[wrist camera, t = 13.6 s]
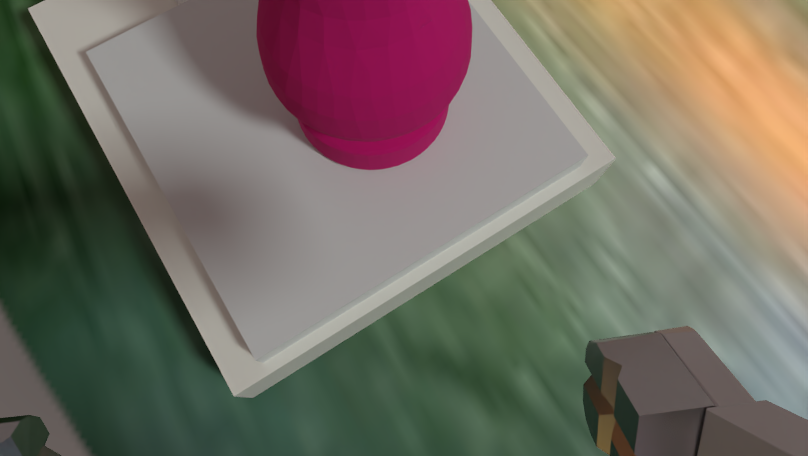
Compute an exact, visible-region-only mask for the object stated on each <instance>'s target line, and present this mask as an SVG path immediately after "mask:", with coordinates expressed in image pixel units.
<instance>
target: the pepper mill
mask: <svg viewBox="0 0 808 456" xmlns="http://www.w3.org/2000/svg"><path fill="white" fill-rule="evenodd" d="M256 37H257V43H258V49H259V54H260V58H261V61H262V65H263V69H264V72H265V75H266V77H267V80H268V83H269V85H270V86H271V88H272V90H273V91H274V93H275V95H276V97H277V98H278V99H279V100H280V102H281V103H282V104H283V105H284V107H285V108H286V109H287V110H288V111H289V112H290V113H291V114H292V115H294V116H295V117H296V118H297V119H298V122H299V124H300V127H301V129H302V131H303V133H304V134H305V136H306V138H307V139H308V140H309V142H310V143H311V144H312V145H313V146H314V147H315V148H316V149H317V150H318V151H320V152H321V153H322V154H323V155H324V156H326V157H327V158H329V159H331V160H332V161H334V162H337V163H339V164H341V165H344V166H347V167H350V168H355V169H362V170H380V169H386V168H391V167H395V166H399V165H401V164H403V163H405V162H408V161H410V160H412V159H414V158H415V157H417V156H418V155H420V154H421V153H422V152H424V151H425V150H426V149H427V148H428V147H429V146H430V145H431V144H432V143H433V142H434V141H435V139H436V138H437V136H438V135H439V133H440V132H441V130H442V128H443V126H444V123H445V120H446V118H447V114H448V108H449V104H450V103H451V101H452V100H453V98H454V97H455V95H456V94H457V92H458V91H459V89H460V87H461V85H462V82H463V80H464V78H465V76H466V74H467V71H468V67H469V63H470V59H471V47H472V18H471V9H470V5H469V2H468V0H259V2H258V12H257V32H256Z"/></svg>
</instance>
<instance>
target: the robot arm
mask: <svg viewBox="0 0 808 456" xmlns="http://www.w3.org/2000/svg"><path fill="white" fill-rule="evenodd" d="M585 363H586V365H587V366H588V368H589V370H590V372H591V374H592V375H591V376H590V377H589V379H588V380H587V381H586V382H585V383H584V386H583V404H584V411H585V417H586V421H587V424H588V427H589V430H590V433H591V436H592V438H593V440H594V442H595V444H596V447H598V448H599V449H601V450H602V451H604V452H605V453H607V454H608V455H610V456H808V420H806V419H804V418H802V417H800V416H798V415H796V414H794V413H792V412H790V411H787V410H785V409H783V408H781V407H779V406H777V405H775V404H773V403H771V402H769V401H767V400H765V401H757V402H756V401H755V400H754V399H753V398H752V396H751V395H750V394H749V393H748V392H747V391H746V389H745V388H744V387H743V386H742V385H741V383H740V382H739V381H738V380H737V379H736V378H735V376H734V375H733V374H732V373H731V372H730V371H729V369H728V368H727V367H726V366H725V365H724V363H723V362H722V361H721V360H720V359H719V358H718V356H717V355H716V354H715V353H714V352H713V351H712V349H711V348H710V347H709V346H708V345H707V343H706V342H705V341H704V340H703V339H702V338H701V336H700V335H699V334H698V333H697V332H696V331H695V330H694V329H692V328H690V327H688V326H685V327H678V328H672V329H665V330H659V331H655V332H649V333H642V334H635V335H628V336H621V337H613V338H606V339H599V340H592V341H589V343H588V345H587V348H586V356H585ZM48 436H49V432H48V430H47V428H46V427H45V425H44V423H43V422H42V420H41V419H40V417H36V416H31V415H25V416H17V417H8V418H0V456H61V455H60V454H57V453H56V452H54V451H53V450H51V449H49V448H47V447H46V446H44V445H45V443H46V441H47V438H48Z"/></svg>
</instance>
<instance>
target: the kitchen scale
mask: <svg viewBox="0 0 808 456" xmlns="http://www.w3.org/2000/svg"><path fill="white" fill-rule="evenodd" d="M258 2H259V0H45V1H42V2H40V3H38V4H36V5H34V6H32V7H30V8H28V10H29V12H30V14H31V16H32V18H33V19H34V21H35V23H36V25H37V27H38V29H39V31H40V33H41V34H42V36H43V38H44V40H45V42H46V44H47V46H48V48H49V50H50V51H51V53H52V55H53V57H54V59H55V61H56V63H57V65H58V66H59V68H60V70H61V72H62V74H63V76H64V78H65V80H66V81H67V83H68V85H69V87H70V89H71V91H72V93H73V95H74V97H75V98H76V100H77V102H78V104H79V106H80V108H81V110H82V112H83V113H84V115H85V117H86V119H87V121H88V123H89V125H90V127H91V129H92V130H93V132H94V134H95V136H96V138H97V140H98V142H99V144H100V145H101V147H102V149H103V151H104V153H105V155H106V157H107V159H108V160H109V162H110V164H111V166H112V168H113V170H114V172H115V174H116V176H117V177H118V179H119V181H120V183H121V185H122V187H123V189H124V191H125V192H126V194H127V196H128V198H129V200H130V202H131V204H132V206H133V207H134V209H135V211H136V213H137V215H138V217H139V219H140V221H141V223H142V224H143V226H144V228H145V230H146V232H147V234H148V236H149V238H150V239H151V241H152V243H153V245H154V247H155V249H156V251H157V253H158V254H159V256H160V258H161V260H162V262H163V264H164V266H165V268H166V270H167V271H168V273H169V275H170V277H171V279H172V281H173V283H174V285H175V286H176V288H177V290H178V292H179V294H180V296H181V298H182V300H183V302H184V303H185V305H186V307H187V309H188V311H189V313H190V315H191V317H192V318H193V320H194V322H195V324H196V326H197V328H198V330H199V332H200V333H201V335H202V337H203V339H204V341H205V343H206V345H207V347H208V349H209V350H210V352H211V354H212V356H213V358H214V360H215V362H216V364H217V365H218V367H219V369H220V371H221V373H222V375H223V377H224V379H225V380H226V382H227V384H228V386H229V388H230V390H231V392H232V394H233V396H235V397H248V398H254V397H255V396H257V395H258V394H260V393H262V392H263V391H265V390H266V389H268V388H270V387H271V386H273V385H274V384H276V383H277V382H279V381H281V380H282V379H284V378H285V377H287V376H289V375H290V374H292V373H293V372H295V371H297V370H298V369H300V368H301V367H303V366H305V365H306V364H308V363H309V362H311V361H313V360H314V359H316V358H317V357H319V356H321V355H322V354H324V353H325V352H327V351H329V350H330V349H332V348H333V347H335V346H337V345H338V344H340V343H341V342H343V341H344V340H346V339H348V338H349V337H351V336H352V335H354V334H356V333H357V332H359V331H360V330H362V329H364V328H365V327H367V326H368V325H370V324H372V323H373V322H375V321H376V320H378V319H380V318H381V317H383V316H384V315H386V314H388V313H389V312H391V311H392V310H394V309H396V308H397V307H399V306H400V305H402V304H403V303H405V302H407V301H408V300H410V299H411V298H413V297H415V296H416V295H418V294H419V293H421V292H423V291H424V290H426V289H427V288H429V287H431V286H432V285H434V284H435V283H437V282H439V281H440V280H442V279H443V278H445V277H447V276H448V275H450V274H451V273H453V272H455V271H456V270H458V269H459V268H461V267H462V266H464V265H466V264H467V263H469V262H470V261H472V260H474V259H475V258H477V257H478V256H480V255H482V254H483V253H485V252H486V251H488V250H490V249H491V248H493V247H494V246H496V245H498V244H499V243H501V242H502V241H504V240H506V239H507V238H509V237H510V236H512V235H514V234H515V233H517V232H518V231H520V230H522V229H523V228H525V227H526V226H528V225H529V224H531V223H533V222H534V221H536V220H537V219H539V218H541V217H542V216H544V215H545V214H547V213H549V212H550V211H552V210H553V209H555V208H557V207H558V206H560V205H561V204H563V203H565V202H566V201H568V200H569V199H571V198H573V197H574V196H576V195H577V194H579V193H581V192H582V191H584V190H585V189H587V188H588V187H590V186H592V185H593V184H595V182H596V181H597V180H598V179H599V178H600V177H601V175H602V174H603V173H604V172H605V171H606V170H607V168H608V167H609V166H610V165H611V164H612V162H613V161H614V160H615V159H616V158H615V157H614V155H613V154H612V153H611V152H610V150H609V149H608V148H607V146H606V145H605V144H604V143H603V141H602V140H601V139H600V138H599V136H598V135H597V134H596V132H595V131H594V130H593V129H592V127H591V126H590V125H589V124H588V122H587V121H586V120H585V119H584V117H583V116H582V115H581V113H580V112H579V111H578V110H577V108H576V107H575V106H574V105H573V103H572V102H571V101H570V100H569V98H568V97H567V96H566V94H565V93H564V92H563V91H562V89H561V88H560V87H559V86H558V84H557V83H556V82H555V81H554V79H553V78H552V77H551V75H550V74H549V73H548V72H547V70H546V69H545V68H544V67H543V65H542V64H541V63H540V61H539V60H538V59H537V58H536V56H535V55H534V54H533V53H532V51H531V50H530V49H529V48H528V46H527V45H526V44H525V42H524V41H523V40H522V39H521V37H520V36H519V35H518V34H517V32H516V31H515V30H514V29H513V27H512V26H511V25H510V23H509V22H508V21H507V20H506V18H505V17H504V16H503V15H502V13H501V12H500V11H499V10H498V8H497V7H496V6H495V4H494V3H493V2H492V1H491V0H468V2H469V5H470V9H471V18H472V47H471V59H470V63H469V67H468V71H467V74H466V76H465V78H464V80H463V82H462V85H461V87H460V89H459V91H458V92H457V94H456V95H455V97H454V98H453V100H452V101H451V103H450V104H449V108H448V114H447V118H446V120H445V123H444V126H443V128H442V130H441V132H440V133H439V135H438V136H437V138H436V139H435V141H434V142H433V143H432V144H431V145H430V146H429V147H428V148H427V149H426V150H425V151H424V152H422V153H421V154H420V155H418V156H417V157H415V158H414V159H412V160H410V161H408V162H405V163H403V164H401V165H399V166H395V167H391V168H386V169H380V170H362V169H355V168H350V167H347V166H344V165H341V164H339V163H337V162H334V161H332V160H331V159H329V158H327V157H326V156H324V155H323V154H322V153H321V152H320V151H318V150H317V149H316V148H315V147H314V146H313V145H312V144H311V143H310V142H309V140H308V139H307V138H306V136H305V134H304V133H303V131H302V129H301V127H300V124H299V122H298V119H297V118H296V117H295V116H294V115H292V114H291V113H290V112H289V111H288V110H287V109H286V108H285V107H284V105H283V104H282V103H281V102H280V100H279V99H278V98H277V97H276V95H275V93H274V91H273V90H272V88H271V86H270V85H269V83H268V80H267V77H266V75H265V72H264V69H263V65H262V61H261V58H260V54H259V49H258V43H257V37H256V32H257V12H258Z"/></svg>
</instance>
